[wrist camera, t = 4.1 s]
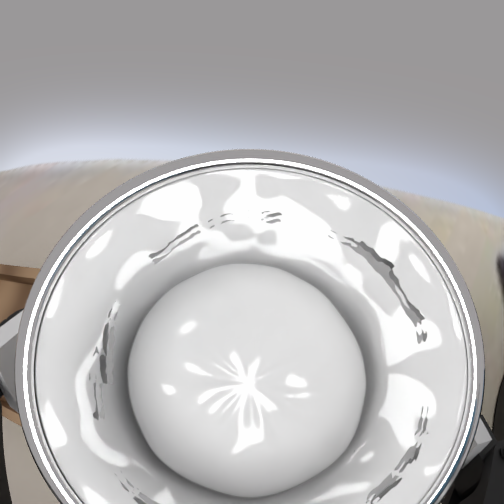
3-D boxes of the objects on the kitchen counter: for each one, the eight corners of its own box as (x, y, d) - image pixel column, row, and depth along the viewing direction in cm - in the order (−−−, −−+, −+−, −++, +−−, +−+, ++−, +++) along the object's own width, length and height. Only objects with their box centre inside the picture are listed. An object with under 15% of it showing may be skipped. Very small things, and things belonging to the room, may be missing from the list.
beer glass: (202, 446, 14) (103, 603, 1) (173, 344, 17) (12, 202, 3) (310, 415, 15) (516, 458, 2) (277, 317, 18) (377, 124, 5)
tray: (81, 284, 18) (64, 271, 16) (66, 435, 13) (47, 438, 11) (-6, 272, 18) (-22, 261, 15) (-24, 390, 12) (-42, 386, 10)
